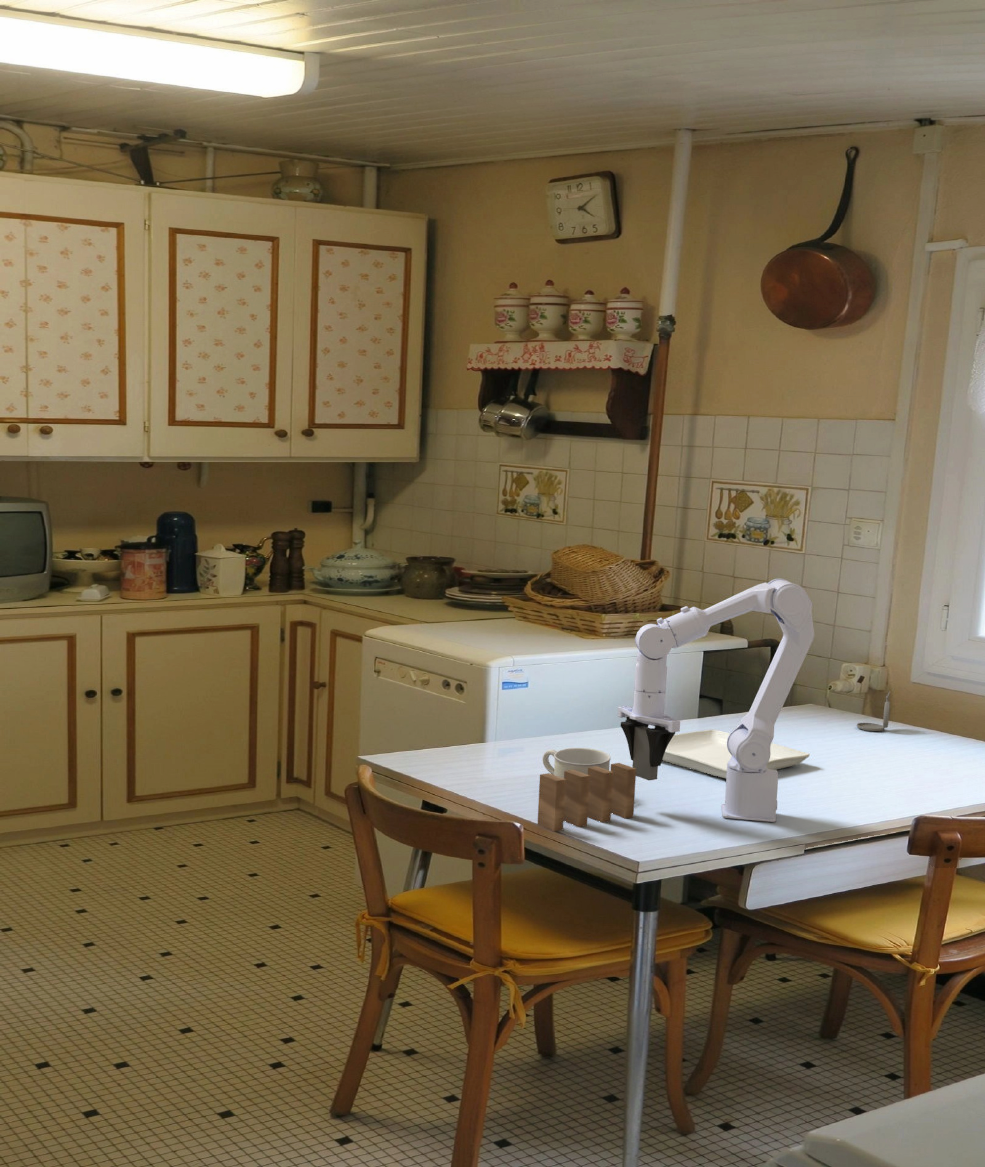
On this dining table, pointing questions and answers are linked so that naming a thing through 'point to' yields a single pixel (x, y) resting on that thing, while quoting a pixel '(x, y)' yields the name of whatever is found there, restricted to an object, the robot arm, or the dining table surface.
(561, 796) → the domino
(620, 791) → the domino
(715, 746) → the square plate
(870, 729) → the grey dish with post
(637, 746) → the domino
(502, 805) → the dining table surface
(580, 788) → the domino
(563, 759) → the teacup
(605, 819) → the domino
